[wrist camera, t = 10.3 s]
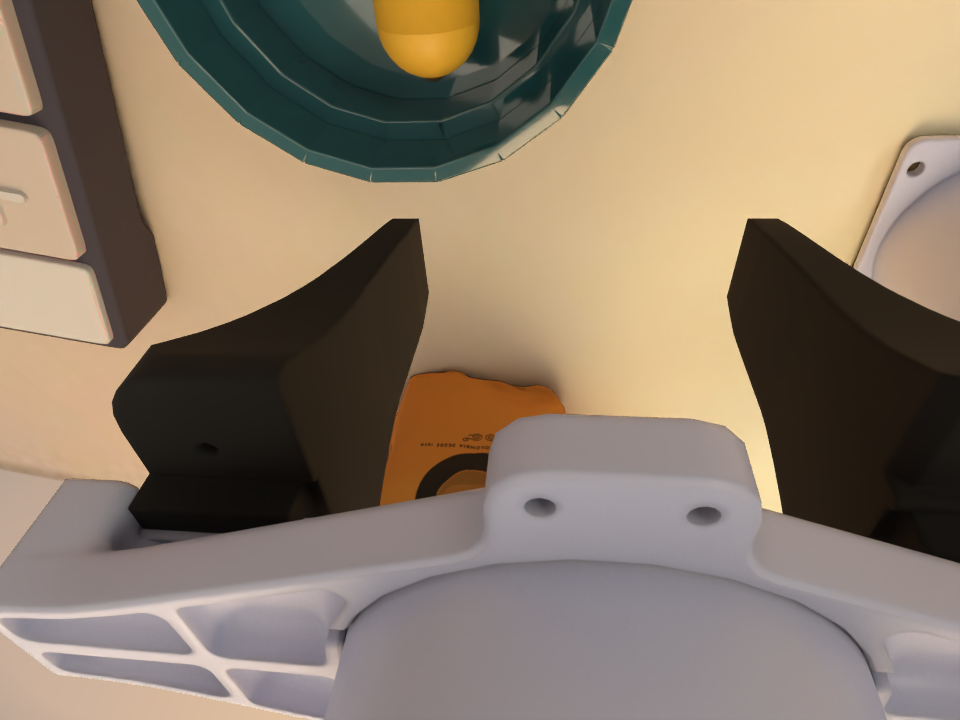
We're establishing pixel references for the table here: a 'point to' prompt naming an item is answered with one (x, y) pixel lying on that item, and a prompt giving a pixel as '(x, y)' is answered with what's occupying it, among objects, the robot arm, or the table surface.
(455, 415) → the coffee package
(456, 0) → the amber tube
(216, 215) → the table surface
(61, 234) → the calculator
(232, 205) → the table surface
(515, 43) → the teal bowl
